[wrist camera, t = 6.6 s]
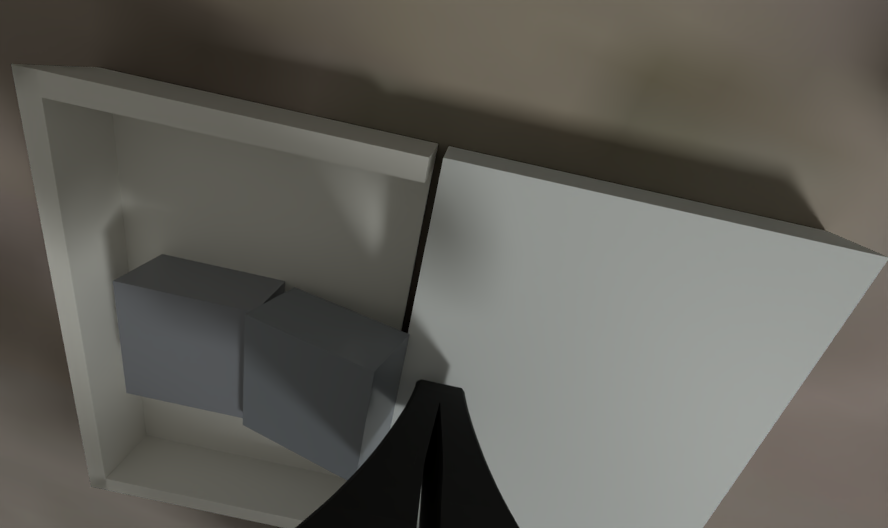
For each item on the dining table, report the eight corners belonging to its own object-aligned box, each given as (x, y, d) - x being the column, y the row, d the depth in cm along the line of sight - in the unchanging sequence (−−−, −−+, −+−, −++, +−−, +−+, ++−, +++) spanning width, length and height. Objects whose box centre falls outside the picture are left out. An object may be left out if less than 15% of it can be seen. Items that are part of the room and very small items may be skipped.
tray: (371, 485, 18) (355, 543, 15) (139, 435, 17) (90, 486, 15) (438, 143, 12) (429, 157, 10) (97, 67, 12) (10, 63, 10)
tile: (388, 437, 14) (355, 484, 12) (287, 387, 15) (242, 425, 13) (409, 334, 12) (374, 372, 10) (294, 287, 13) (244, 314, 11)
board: (637, 542, 18) (655, 596, 16) (378, 486, 18) (366, 534, 16) (827, 231, 12) (889, 257, 10) (448, 146, 12) (443, 157, 10)
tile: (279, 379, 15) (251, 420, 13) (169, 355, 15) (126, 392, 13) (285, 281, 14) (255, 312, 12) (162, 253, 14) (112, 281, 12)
